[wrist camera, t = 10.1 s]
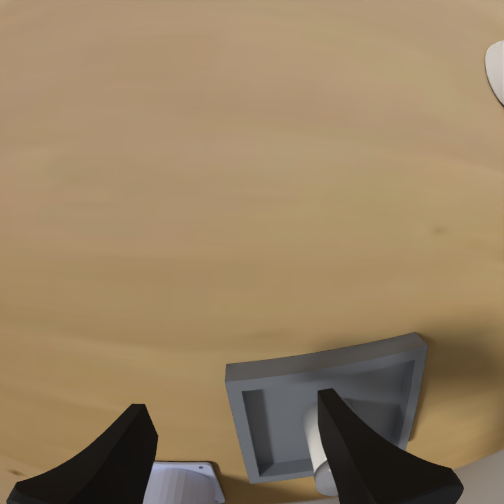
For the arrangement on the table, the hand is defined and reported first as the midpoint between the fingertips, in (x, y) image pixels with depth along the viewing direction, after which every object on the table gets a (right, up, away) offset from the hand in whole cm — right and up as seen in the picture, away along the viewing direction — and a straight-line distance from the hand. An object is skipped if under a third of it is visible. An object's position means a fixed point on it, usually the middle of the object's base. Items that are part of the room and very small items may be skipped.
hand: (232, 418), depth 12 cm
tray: (+7, -7, +13) cm, 16 cm away
